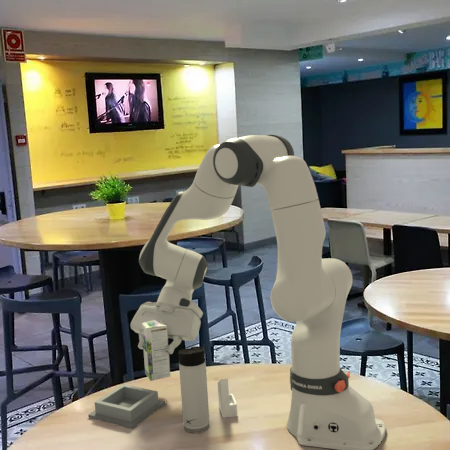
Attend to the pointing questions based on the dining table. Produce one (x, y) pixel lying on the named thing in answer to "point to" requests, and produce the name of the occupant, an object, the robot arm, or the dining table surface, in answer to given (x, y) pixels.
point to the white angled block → (226, 400)
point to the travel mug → (194, 389)
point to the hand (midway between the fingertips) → (154, 350)
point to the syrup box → (155, 349)
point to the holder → (127, 406)
